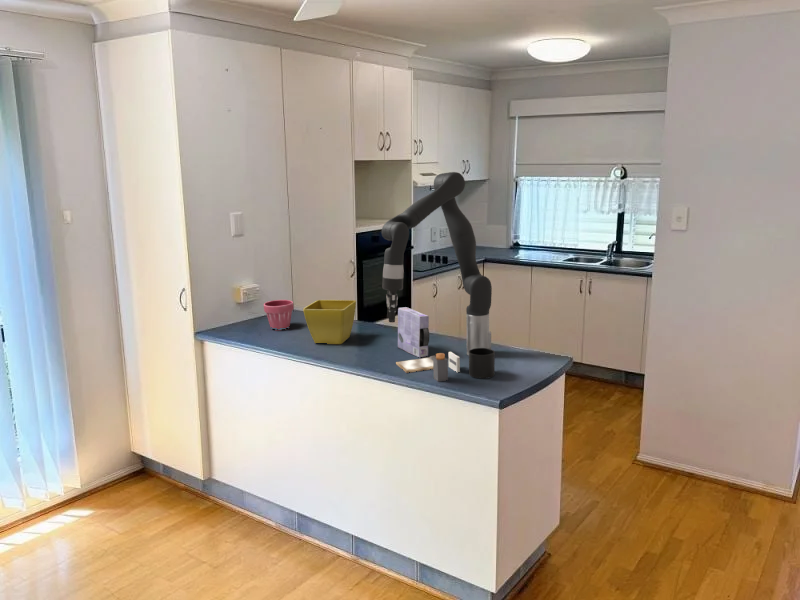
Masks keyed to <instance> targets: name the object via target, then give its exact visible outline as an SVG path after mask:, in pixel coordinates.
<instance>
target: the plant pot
mask: <svg viewBox="0 0 800 600" xmlns="http://www.w3.org/2000/svg"><path fill="white" fill-rule="evenodd" d="M294 308H295V307H294V302H293V300H289V299H276V300H269V301H265V302H264V303H263V312H264V313H265V314H266V317H267V320H268V323H269V326H270V328H271V327H272V328H277V329H280V328H287V327H289V326H290V325H291V320H292V314H293V313H292V312H293V311H294ZM289 328H290V327H289Z"/></svg>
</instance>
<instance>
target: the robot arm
mask: <svg viewBox="0 0 800 600" xmlns="http://www.w3.org/2000/svg"><path fill="white" fill-rule="evenodd" d="M465 186H466V179H465V177H464V176H463V174H461V173H459V172H456V171H451V172H443V173H439V174H437V175H436V176H435V178H434V180H433V189H434V190H433V191H432V192H431V193H429V194H427V195H425V196H423V197H422V198H420V199H418V200H416V201H415V202H414V203H412V204H411V205H410V206H409V207H408V208H406V209H405V210H404V211H402V213H400V214H397V215H395V216H393V217H392V218H390V219H389V220H387V221H386V222H385V223H384V224H383V225H382V227H381V236H382V238H383V239H384V240H387V241H389V242H391V245H390V247H388V248H386V249H385V251H384V257H383V260H384V262H383V269H382V284H381V285H382V289H383V290H385V291H387V293H386V294H385V295H386V307H387V311H386V313H387V314H386V318H387V319H388V322H389V323H395V321H396V312H397V311H398V299H399V295H398V294H397V291H402V290H403V289H404V273H405V272H404V260H405V259H404V257H405V256H404V253H405V251H406V248H407V244H408V241H409V237H410V230H409V229H413V228H415V227H417V226H418V225H419V224H421V222H423V221H424V220H425V219H427V217H429V216H430V215H431V214H432V213H434V211H436V210H437V209H438V208H440V207H441V208H440V209H441V210H442V214H443V216H444V220H445V223H446V227H447V229H448V233H449V236H450V240H451V244H452V246H453V249H454V253H455V256H456V260H457V262H458V266H459V270H460V276H461V282H462V285H463V289H464V291H465V293H467V294H468V295H469V305H467V306H466V310H465V311H466V313H465V314H466V317H465V318H466V322H465V323H466V355H467V356H468V357H469V351H470V350H471V349H475V348H488V349H492V332H491V331H490V310H491V306H492V292H493V291H492V282H491V280H490V279H489V278H488V277H487V276H486V275H483V274H481V272H480V270H479V267H478V264H477V258H476V256H477V255H476V251H477V242H476V241H477V240H476V236H475V233H474V229H473V226H472V224H471V222H470V221H469V219H468V218H467V217H466V215H465V214H464V213H463V212H462V210H461V209H460V208H459V206H458V204H457V200H456V197H458V196H459V195H461V194H462V192H463V191H464V190H465Z"/></svg>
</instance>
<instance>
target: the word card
mask: <svg viewBox="0 0 800 600" xmlns="http://www.w3.org/2000/svg"><path fill="white" fill-rule="evenodd" d="M460 358H461V357H460V356H459V355H457V354H455V353H454V352H452V351H448V368H450V369H451V370H452V371H453V372H455V371H456V372H455V373H457V374H458V372H460V373H461V370H460V369H461V366H460V364H461V361H460Z"/></svg>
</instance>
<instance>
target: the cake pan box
mask: <svg viewBox="0 0 800 600" xmlns="http://www.w3.org/2000/svg"><path fill="white" fill-rule="evenodd" d="M429 319H430V316H429V315H427V314H424V313H422V312H419V311H417V310H415V309H412V308H409V307H406V306H405V307H397V348H398V349H400V350H403V351H404V352H406V353H408V354H411V355H413V356H414V357H416V358H418V357H419V358H418V359H422V358H427V357H429V344H430V330H429V329H430V328H429V327H430V325H429V324H430V323H429V322H430V321H429ZM426 356H427V357H426ZM421 357H422V358H421Z"/></svg>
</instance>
